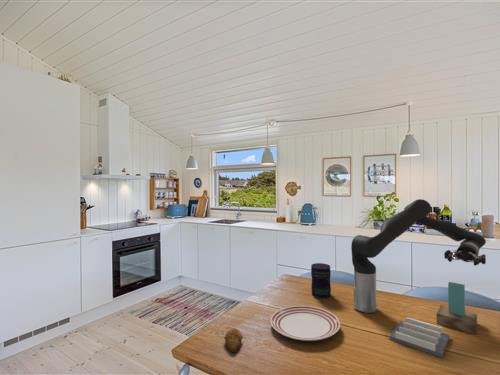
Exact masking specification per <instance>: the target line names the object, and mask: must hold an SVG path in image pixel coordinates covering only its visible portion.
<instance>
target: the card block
mask: <svg viewBox="0 0 500 375" xmlns="http://www.w3.org/2000/svg"><path fill="white" fill-rule="evenodd" d="M447 286H448V291H447V292H448V294H447V295H448V297H447V298H448V307H449V313H451V314H455V315H459V316H463V317H464V316H465V311H466V299H465V298H466V296H465V295H466V294H465V293H466V292H465V291H466V289H465V288H466V286H465V284H463V283H457V282H451V281H449V282H448V284H447Z"/></svg>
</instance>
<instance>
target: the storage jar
mask: <svg viewBox="0 0 500 375" xmlns="http://www.w3.org/2000/svg"><path fill="white" fill-rule="evenodd" d="M310 267H311V268H310V270H311V271H310V273H311V274H310V276H311V296H313V297H314V298H317V299H328V298H331V295H332V294H331V292H332V287H331V286H332V284H331V276H332V274H331V273H332V272H331V265H329V264H327V263H322V262H320V263H319V262H318V263H312V264H311V265H310Z"/></svg>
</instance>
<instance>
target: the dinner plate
mask: <svg viewBox="0 0 500 375" xmlns="http://www.w3.org/2000/svg"><path fill="white" fill-rule="evenodd" d="M270 325H271V327H272V329H274V330H275V331H276V332H278V333H279V334H281V335H282V336H284V337H287V338H290V339H293V340H298V341H301V342H302V341H304V342H316V341H320V340H321V341H322V340H326V339H328V338H330V337H332V336H334V335H335V334H337V333H338V332H339V330H341V329H340V328H341V321H340V320H339V318H338V317H337V316H336V315H335V314H334V313H333V312H331V311H329V310H326V309H324V308H321V307H318V306H310V305H291V306H286V307H283V308H281V309H279V310H276V311H275V312H274V313H273V314H272V315H271V317H270Z"/></svg>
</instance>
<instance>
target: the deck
mask: <svg viewBox="0 0 500 375" xmlns="http://www.w3.org/2000/svg"><path fill="white" fill-rule="evenodd" d="M436 324H438V325H442V326H445V327H449V328H451V329H455V330H460V331H463V332H466V333H471V334H474V335H475V334H476V331H477V325H478V313H475V312H471V311H466V310H465V316H464V317H463V316H459V315H455V314H451V313H449V306H447V305H442V304H441V305H440V306H439V309H438V310H437V312H436Z"/></svg>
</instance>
